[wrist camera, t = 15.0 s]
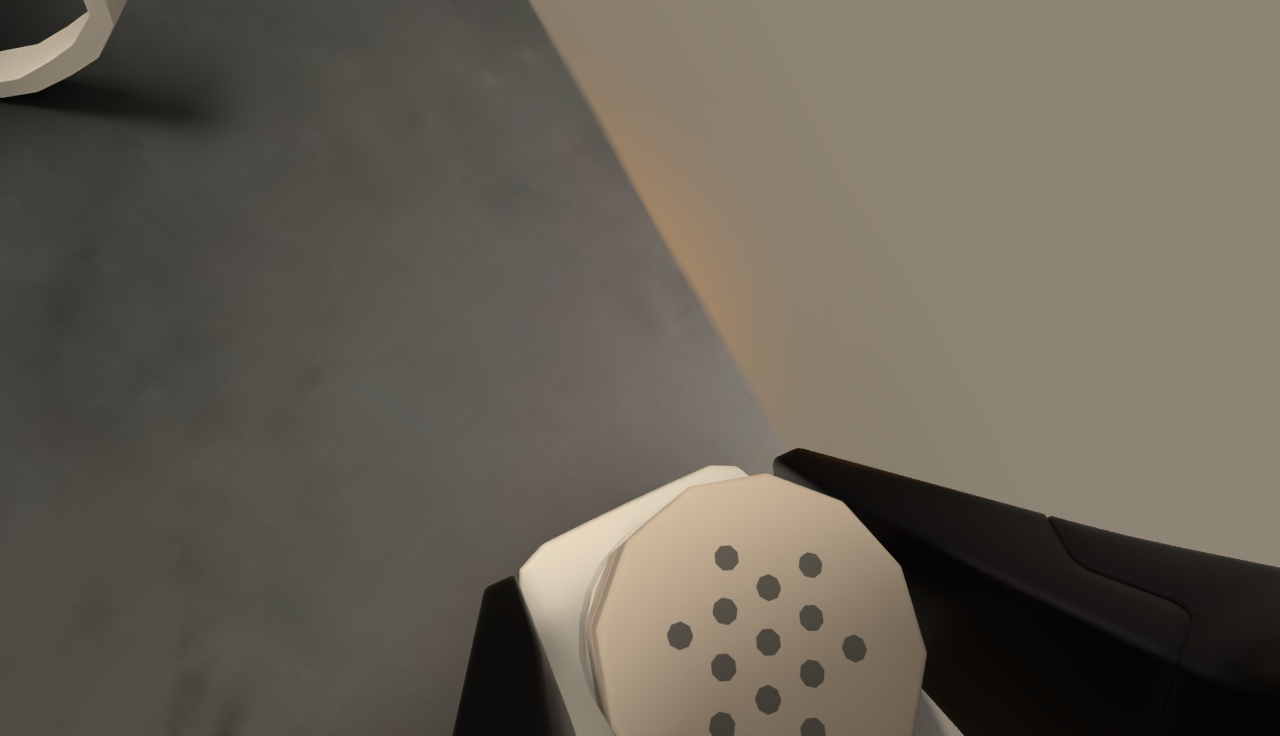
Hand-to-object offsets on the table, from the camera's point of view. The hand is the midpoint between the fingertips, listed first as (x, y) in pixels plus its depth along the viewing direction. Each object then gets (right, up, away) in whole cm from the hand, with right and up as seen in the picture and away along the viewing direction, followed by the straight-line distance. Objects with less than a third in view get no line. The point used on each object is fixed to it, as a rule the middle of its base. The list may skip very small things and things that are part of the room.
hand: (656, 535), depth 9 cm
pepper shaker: (0, -3, +6) cm, 7 cm away
